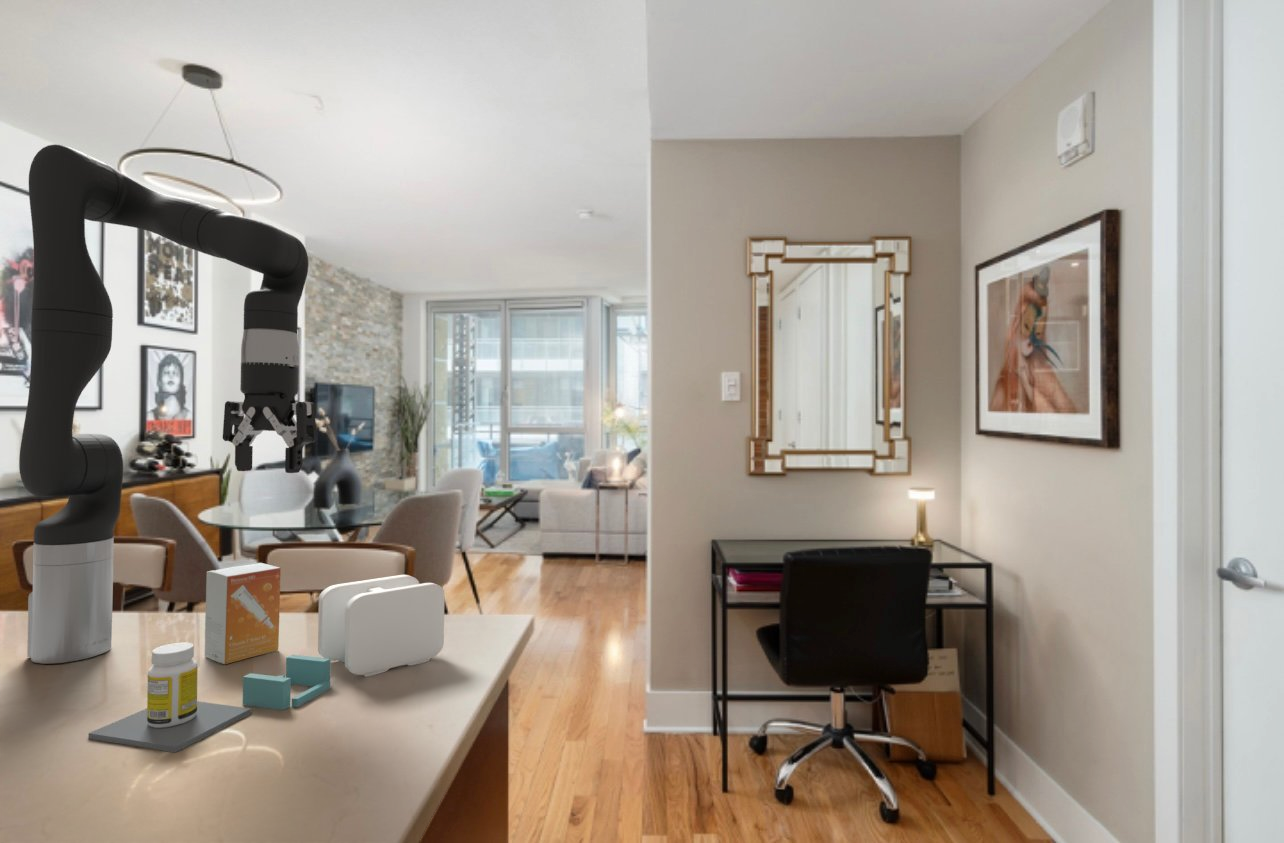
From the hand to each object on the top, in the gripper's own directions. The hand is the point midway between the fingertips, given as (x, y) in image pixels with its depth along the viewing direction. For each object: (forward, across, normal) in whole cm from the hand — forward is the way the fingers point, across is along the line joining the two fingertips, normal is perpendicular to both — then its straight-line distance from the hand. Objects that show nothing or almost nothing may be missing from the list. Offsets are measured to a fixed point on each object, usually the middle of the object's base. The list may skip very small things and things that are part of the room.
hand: (268, 471), depth 98 cm
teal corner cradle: (+28, +12, -9) cm, 32 cm away
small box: (+28, -6, +2) cm, 29 cm away
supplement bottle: (+28, +6, -20) cm, 35 cm away
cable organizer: (+28, +16, +5) cm, 33 cm away
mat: (+28, +6, -20) cm, 35 cm away
